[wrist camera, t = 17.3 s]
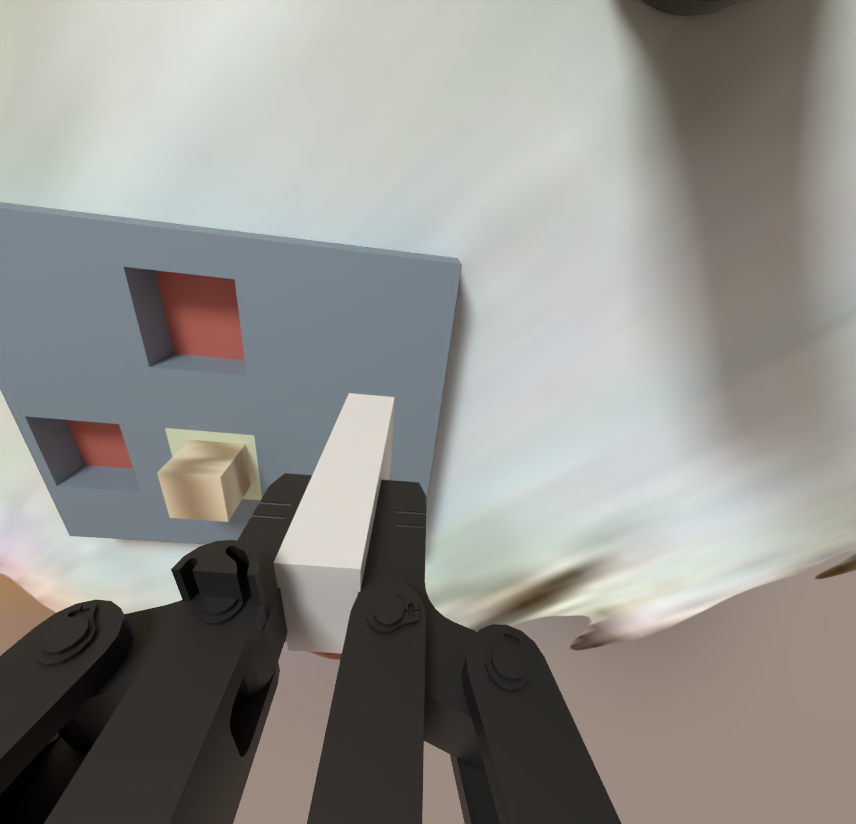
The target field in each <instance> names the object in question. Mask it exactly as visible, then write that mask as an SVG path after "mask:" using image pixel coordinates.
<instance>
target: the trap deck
mask: <svg viewBox="0 0 856 824" xmlns="http://www.w3.org/2000/svg"><path fill="white" fill-rule="evenodd" d="M461 266H462V264H461V263H460V261H459V260H458V259H457V258H450V257H442V256H434V255H425V254H417V253H409V252H401V251H393V250H385V249H376V248H368V247H360V246H352V245H344V244H336V243H328V242H319V241H311V240H303V239H295V238H287V237H279V236H270V235H262V234H254V233H246V232H238V231H230V230H222V229H213V228H205V227H197V226H189V225H181V224H173V223H164V222H156V221H148V220H140V219H132V218H124V217H116V216H107V215H99V214H91V213H83V212H75V211H67V210H58V209H50V208H42V207H34V206H26V205H18V204H10V203H1V202H0V389H1V392H2V394H3V396H4V398H5V400H6V402H7V404H8V406H9V408H10V411H11V413H12V415H13V417H14V419H15V421H16V423H17V425H18V427H19V430H20V432H21V434H22V436H23V438H24V440H25V442H26V444H27V446H28V448H29V451H30V453H31V455H32V457H33V459H34V461H35V463H36V465H37V467H38V470H39V472H40V474H41V476H42V478H43V480H44V482H45V484H46V486H47V489H48V491H49V493H50V495H51V497H52V499H53V501H54V503H55V505H56V508H57V510H58V512H59V514H60V516H61V518H62V520H63V522H64V524H65V527H66V529H67V531H68V533H69V535H70V536H81V537H98V538H114V539H130V540H147V541H163V542H180V543H196V544H209V543H212V542H215V541H222V540H236V541H237V540H238V538H239V537H240V535H241V533H242V532H243V530H244V528H245V526H246V525H247V523H248V521H249V519H250V518H252V516H253V513H254V511H255V509H256V507H257V506H258V504H260V501H261V499H262V497H263V495H264V494H265V492H266V490H267V489H268V487H269V485H271V484H272V483H273V482H274V481H276V480H277V479H278V478H279V477H281V476H282V475H283V474H284V473H289V474H302V475H313V473H314V471H315V468H316V466H317V464H318V462H319V459H320V457H321V455H322V453H323V450H324V448H325V446H326V444H327V441H328V439H329V437H330V435H331V432H332V430H333V428H334V426H335V423H336V421H337V419H338V417H339V414H340V412H341V410H342V408H343V405H344V403H345V401H346V399H347V396H348V394H349V393H353V394H364V395H376V396H388V397H395V398H394V417H393V436H392V455H391V467H390V473H389V479H388V480H394V481H407V482H419V484H420V485H421V487H422V489H423V491H424V493H425V495H426V502H427V495H428V489H429V482H430V475H431V468H432V462H433V455H434V448H435V441H436V435H437V428H438V421H439V414H440V408H441V401H442V394H443V387H444V381H445V374H446V367H447V360H448V354H449V347H450V340H451V333H452V327H453V320H454V313H455V306H456V300H457V293H458V286H459V279H460V273H461ZM189 440H200V441H212V442H224V443H236V444H245V447H246V454H247V462H248V469H249V477H250V484H251V486H250V487H249V489H248V491H247V492H246V494H245V496H244V497H243V499H242V500H241V502H240V504H239V505H238V507H237V509H236V510H235V512H234V513H233V515H232V517H231V518H230V520H229V522H223V521H209V520H194V519H179V518H170V517H169V513H168V510H167V506H166V503H165V499H164V496H163V492H162V488H161V485H160V481H159V478H158V474H157V472H158V471H159V470H160V469H161V468H162V467H163V466H164V465H165V464H166V463H167V462H168V461H169V460H170V459H171V458H172V457H173V456H174V455H175V454H176V453H177V452H178V451H179V450H180V449H181V448H182V447H183V446H184V445H185V444H186V443H187V442H188V441H189Z"/></svg>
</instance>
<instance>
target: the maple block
mask: <svg viewBox="0 0 856 824" xmlns="http://www.w3.org/2000/svg"><path fill="white" fill-rule="evenodd" d="M157 474H158V478H159V481H160V485H161V488H162V492H163V496H164V499H165V503H166V506H167V510H168V513H169V517H170V518H179V519H194V520H209V521H223V522H229V520H230V518H231V517H232V515H233V513H234V512H235V510H236V509H237V507H238V505H239V504H240V502H241V500H242V499H243V497H244V496H245V494H246V492H247V491H248V489H249V487H250V486H251V484H250V477H249V469H248V462H247V454H246V447H245V444H236V443H224V442H212V441H200V440H189V441H188V442H187V443H186V444H185V445H184V446H183V447H182V448H181V449H180V450H179V451H178V452H177V453H176V454H175V455H174V456H173V457H172V458H171V459H170V460H169V461H168V462H167V463H166V464H165V465H164V466H163V467H162V468H161V469H160V470H159V471H158V472H157Z"/></svg>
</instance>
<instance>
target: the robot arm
mask: <svg viewBox="0 0 856 824" xmlns="http://www.w3.org/2000/svg"><path fill="white" fill-rule="evenodd" d="M643 1H644V2H646V3H647V4H649V5H650V6H652V7H654V8H656V9H658V10H661V11H664V12H667V13H671V14H676V15H700V14H705V13H709V12H713V11H717V10H719V9H722V8H724V7H727V6H729V5H731V4H733V3H735V2H737V1H739V0H643ZM394 398H395V397H388V396H376V395H364V394H353V393H349V394H348V396H347V399H346V401H345V403H344V405H343V408H342V410H341V412H340V414H339V417H338V419H337V421H336V423H335V426H334V428H333V430H332V432H331V435H330V437H329V439H328V441H327V444H326V446H325V448H324V450H323V453H322V455H321V457H320V459H319V462H318V464H317V466H316V468H315V471H314V473H313V475H302V474H289V473H284V474H283V475H282V476H281V477H279V478H278V479H277V480H276V481H274V482H273V483H272V484H271V485H269V487H268V489H267V490H266V492H265V494H264V495H263V497H262V499H261V501H260V504H258V506H257V507H256V509H255V511H254V513H253V516H252V518H250V519H249V521H248V523H247V525H246V526H245V528H244V530H243V532H242V533H241V535H240V537H239V538H238V540H237V541H236V540H222V541H215V542H212V543H209V544H206V545H203V546H200V547H198V548H197V549H195V550H193V551H192V552H190V553H189V554H187V555H185V556H184V557H183V558H182V559H181V560H180V561H179V562H178V563H177V564H176V565H175V566H174V567H173V568H172V569H171V570H172V573H173V575H174V578H175V581H176V583H177V586H178V589H179V591H180V594H181V596H182V599H183V600H181V601H178V602H175V603H172V604H168V605H165V606H160V607H156V608H151V609H147V610H142V611H138V612H133V613H129V614H123V612H122V610H121V608H120V607H118V606H117V605H116V604H114V603H113V602H112V601H104V600H92V601H87V602H82V603H78V604H75V605H73V606H71V607H68V608H66V609H64V610H62V611H59V612H57V613H55V614H54V615H52V616H51V617H49V618H48V619H46V620H45V621H43V622H42V623H41V624H39V625H38V626H36V627H35V628H34V629H33V630H31V631H30V632H29V633H28V634H26V635H25V636H24V637H23V638H22V639H21V640H19V641H18V642H17V643H16V644H14V645H13V646H12V647H11V648H9V649H8V650H7V651H6V652H5V653H3V654H2V655H1V656H0V824H233V822H234V819H235V815H236V812H237V809H238V806H239V803H240V800H241V797H242V793H243V791H244V787H245V784H246V781H247V778H248V775H249V772H250V769H251V766H252V763H253V759H254V756H255V753H256V750H257V747H258V744H259V741H260V737H261V734H262V731H263V728H264V725H265V722H266V719H267V716H268V713H269V709H270V706H271V703H272V700H273V697H274V694H275V691H276V688H277V685H278V679H279V672H280V669H279V664H278V660H279V657H280V654H281V651H282V648H283V645H284V642H285V639H287V645H288V650H294V651H311V652H327V653H342V655H341V660H340V666H339V670H338V675H337V680H336V685H335V690H334V694H333V700H332V704H331V709H330V714H329V719H328V724H327V728H326V733H325V739H324V743H323V748H322V753H321V758H320V763H319V768H318V773H317V777H316V782H315V787H314V792H313V797H312V802H311V806H310V811H309V816H308V821H307V824H422V800H423V798H422V797H423V748H424V746H423V745H424V744H423V743H424V741H426V742H428V743H430V744H432V745H434V746H436V747H437V748H439V749H441V750H443V751H445V752H447V753H449V754H450V757H451V762H452V766H453V771H454V775H455V780H456V785H457V789H458V794H459V799H460V803H461V808H462V813H463V818H464V822H465V824H621V822H620V820H619V818H618V815H617V813H616V811H615V809H614V807H613V805H612V802H611V800H610V799H609V796H608V794H607V792H606V789H605V787H604V785H603V783H602V781H601V779H600V776H599V774H598V772H597V770H596V768H595V766H594V763H593V761H592V759H591V757H590V755H589V753H588V751H587V748H586V746H585V744H584V742H583V740H582V738H581V735H580V733H579V731H578V729H577V727H576V725H575V722H574V720H573V718H572V716H571V714H570V712H569V710H568V707H567V705H566V703H565V701H564V699H563V696H562V694H561V692H560V690H559V688H558V686H557V684H556V681H555V679H554V677H553V675H552V673H551V671H550V668H549V666H548V664H547V662H546V660H545V657H544V656H543V654H542V653H541V652H540V650H539V648H538V647H537V645H536V644H535V642H534V641H533V640H531V639H530V638H529V637H528V636H527V635H525V634H524V633H523V632H522V631H520V630H518V629H515V628H513V627H511V626H508V625H490V626H487V627H485V628H483V629H480V630H479V631H478V632H476V631H474V630H471V629H469V628H466V627H464V626H462V625H459V624H457V623H454V622H453V621H451V620H449V619H447V618H445V617H444V616H443V615H442V614H440V613H439V612H438V611H437V610H436V609H435V608H434V606H433V605H432V603H431V602H430V600H429V598H428V595H427V593H426V589H425V540H426V495H425V493H424V491H423V489H422V487H421V485H420V484H419V482H407V481H394V480H388V479H389V473H390V467H391V455H392V436H393V417H394Z"/></svg>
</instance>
